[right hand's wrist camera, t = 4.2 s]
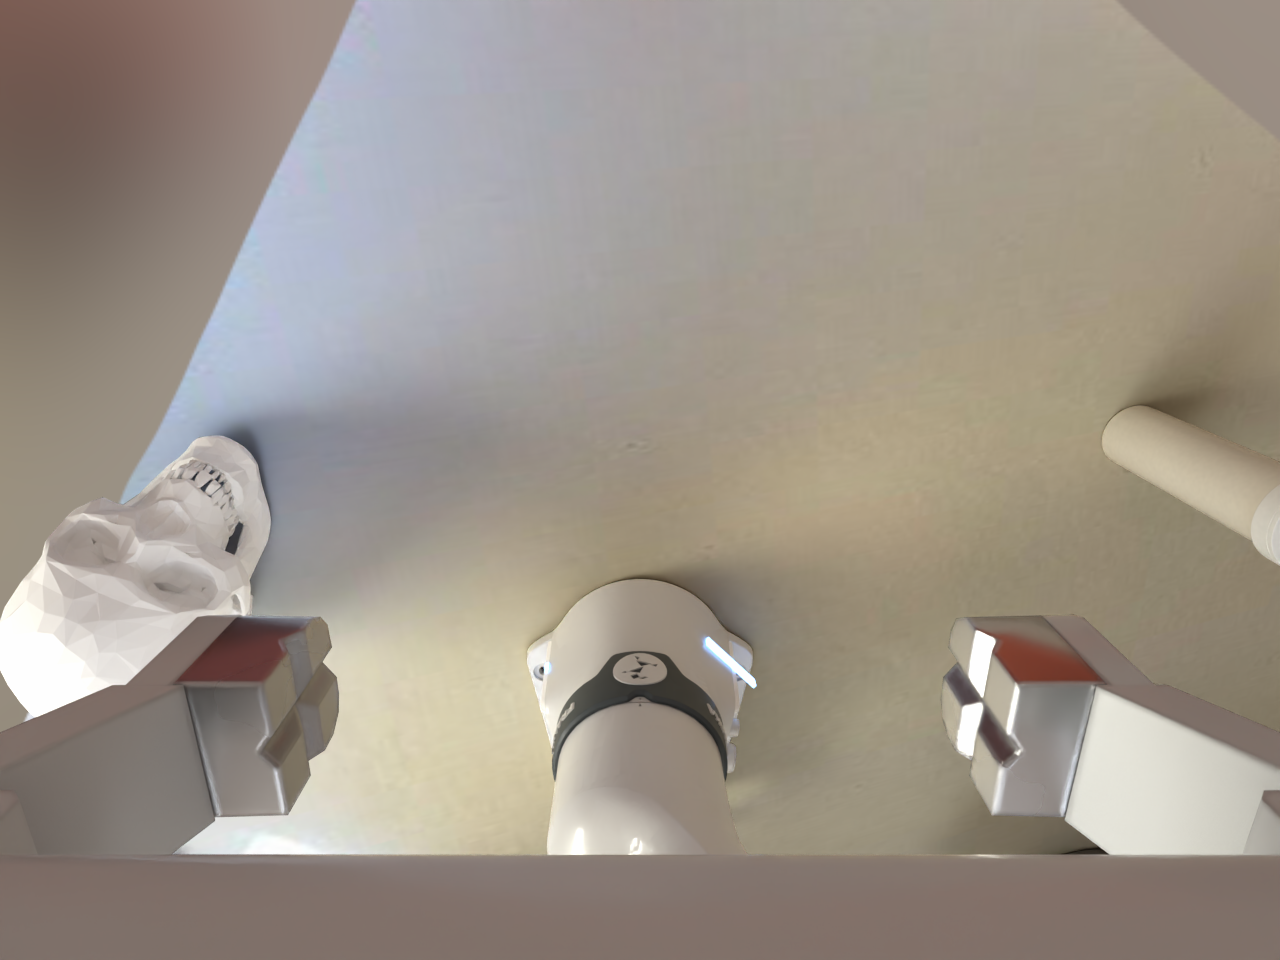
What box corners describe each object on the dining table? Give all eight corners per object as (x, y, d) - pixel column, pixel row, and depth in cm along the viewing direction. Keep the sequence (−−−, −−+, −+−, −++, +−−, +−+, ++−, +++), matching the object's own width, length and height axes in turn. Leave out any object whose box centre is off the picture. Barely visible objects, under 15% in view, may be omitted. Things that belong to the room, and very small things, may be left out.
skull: (319, 461, 60) (204, 547, 45) (247, 684, 67) (126, 823, 52) (148, 389, 58) (-30, 454, 43) (92, 625, 65) (-78, 750, 50)
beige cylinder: (1096, 418, 59) (1268, 503, 43) (1160, 396, 58) (1360, 474, 42) (1106, 473, 60) (1276, 576, 44) (1169, 452, 60) (1365, 549, 44)
